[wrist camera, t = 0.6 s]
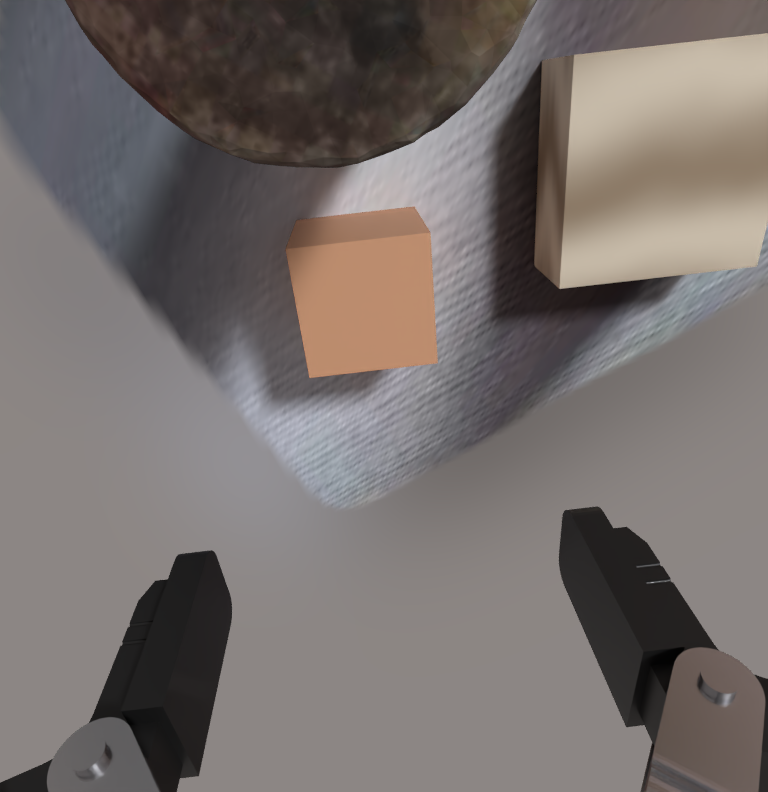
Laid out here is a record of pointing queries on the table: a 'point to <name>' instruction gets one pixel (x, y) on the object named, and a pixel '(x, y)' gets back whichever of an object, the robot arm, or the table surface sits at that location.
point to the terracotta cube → (364, 291)
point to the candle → (304, 68)
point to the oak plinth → (652, 161)
